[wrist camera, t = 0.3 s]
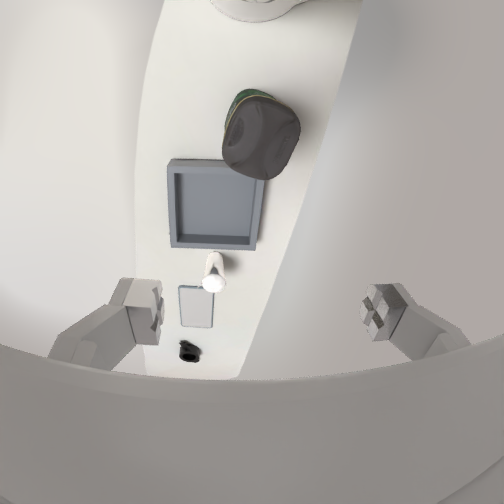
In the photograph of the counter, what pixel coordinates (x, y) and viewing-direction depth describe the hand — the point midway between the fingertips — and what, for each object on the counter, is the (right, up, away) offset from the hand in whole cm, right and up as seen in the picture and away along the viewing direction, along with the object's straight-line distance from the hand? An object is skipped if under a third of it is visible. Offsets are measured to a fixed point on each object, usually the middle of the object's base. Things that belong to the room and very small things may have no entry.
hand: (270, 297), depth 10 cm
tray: (-8, +11, +40) cm, 42 cm away
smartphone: (-14, -12, +57) cm, 60 cm away
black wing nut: (-19, -27, +68) cm, 76 cm away
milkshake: (-9, +1, +48) cm, 49 cm away
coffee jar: (-1, +24, +32) cm, 40 cm away
